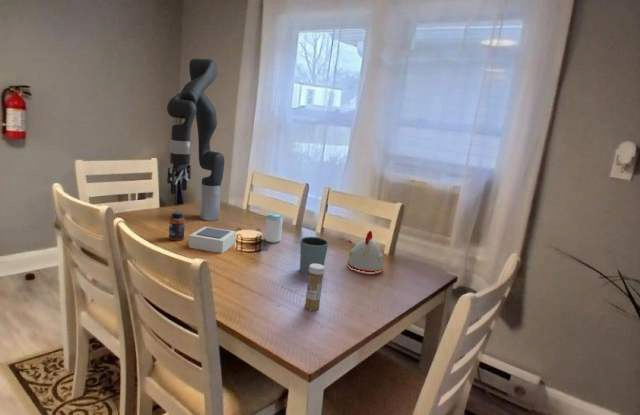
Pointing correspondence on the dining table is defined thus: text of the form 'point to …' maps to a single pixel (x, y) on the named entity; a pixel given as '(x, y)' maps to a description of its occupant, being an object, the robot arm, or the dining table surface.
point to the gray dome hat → (366, 255)
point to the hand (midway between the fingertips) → (178, 192)
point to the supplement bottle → (176, 226)
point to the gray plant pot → (312, 252)
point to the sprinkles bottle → (314, 286)
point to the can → (273, 227)
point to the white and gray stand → (212, 239)
